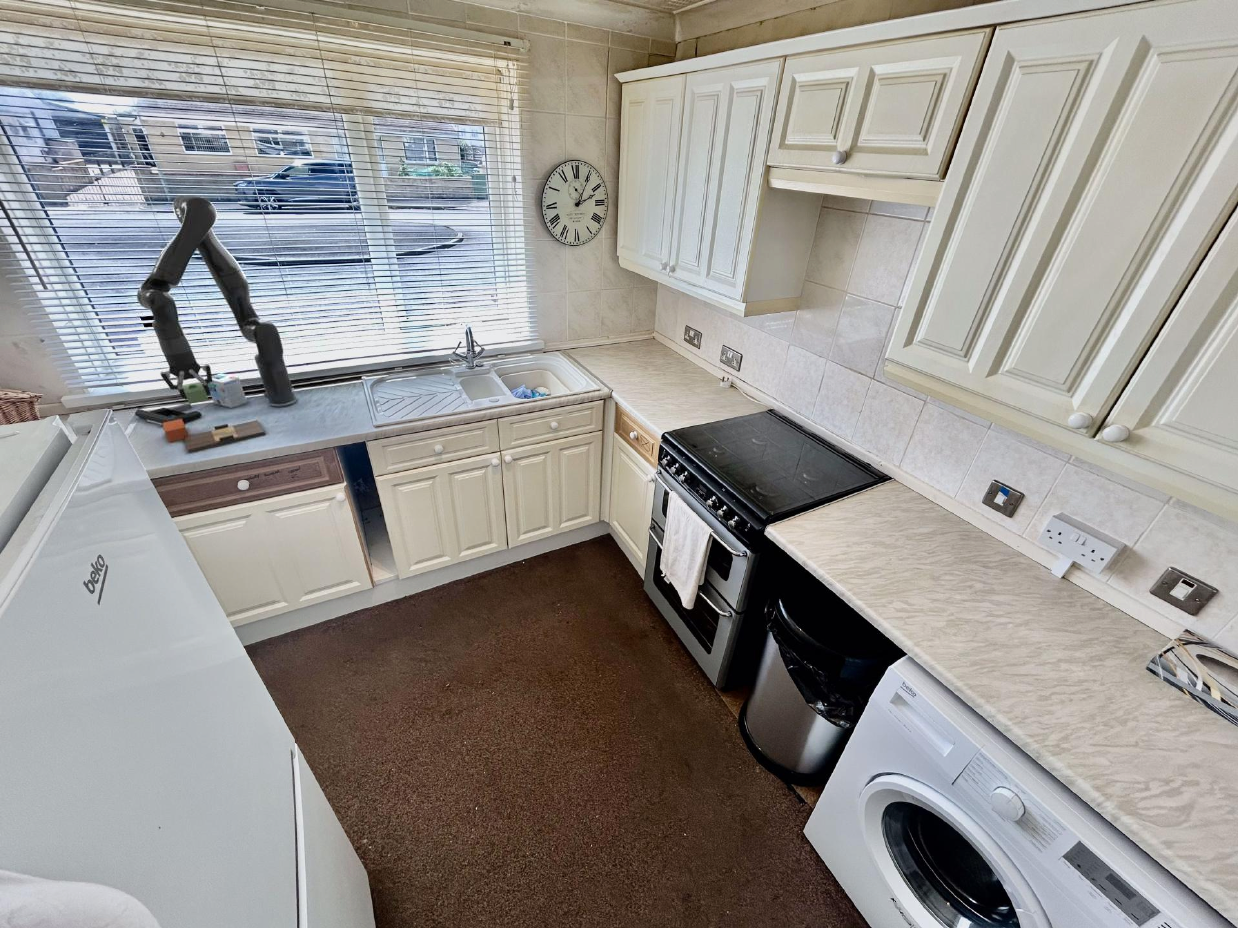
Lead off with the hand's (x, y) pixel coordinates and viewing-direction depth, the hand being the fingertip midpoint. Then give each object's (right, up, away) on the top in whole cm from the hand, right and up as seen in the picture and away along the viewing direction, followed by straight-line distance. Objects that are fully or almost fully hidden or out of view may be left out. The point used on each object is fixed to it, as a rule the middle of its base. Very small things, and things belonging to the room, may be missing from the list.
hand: (196, 396), depth 182 cm
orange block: (-8, -14, +1) cm, 16 cm away
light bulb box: (-7, +1, +26) cm, 27 cm away
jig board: (+9, -14, +1) cm, 17 cm away
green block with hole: (0, 0, 0) cm, 1 cm away
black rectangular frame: (-20, -6, +14) cm, 25 cm away
